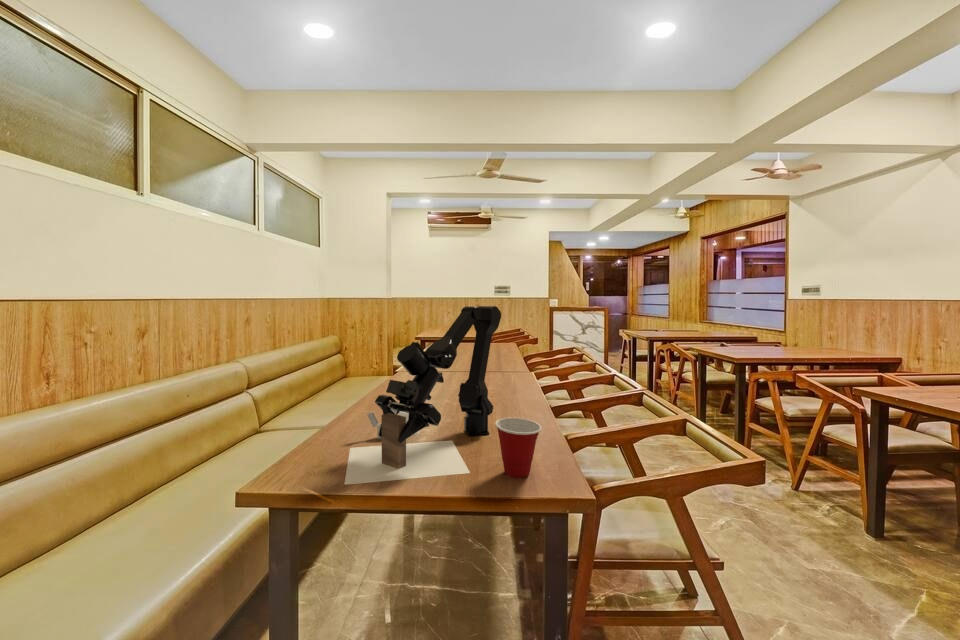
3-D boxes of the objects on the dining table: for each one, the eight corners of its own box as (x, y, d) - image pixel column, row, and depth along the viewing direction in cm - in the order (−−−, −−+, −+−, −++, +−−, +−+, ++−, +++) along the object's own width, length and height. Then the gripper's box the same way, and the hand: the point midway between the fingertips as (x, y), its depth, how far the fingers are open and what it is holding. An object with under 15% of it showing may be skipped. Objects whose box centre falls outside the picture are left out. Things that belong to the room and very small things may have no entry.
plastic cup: (528, 487, 93) (529, 433, 93) (486, 476, 99) (486, 425, 98) (548, 471, 102) (549, 421, 102) (508, 461, 108) (508, 414, 108)
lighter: (392, 438, 126) (392, 411, 126) (391, 440, 124) (391, 413, 124) (369, 437, 126) (369, 411, 126) (367, 439, 125) (366, 412, 124)
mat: (452, 441, 123) (452, 440, 123) (470, 474, 100) (470, 472, 100) (350, 449, 117) (350, 447, 117) (344, 486, 93) (344, 484, 93)
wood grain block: (389, 460, 108) (389, 412, 107) (406, 465, 104) (406, 416, 104) (381, 463, 106) (381, 415, 105) (398, 469, 102) (398, 419, 102)
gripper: (380, 363, 112) (345, 414, 104) (433, 371, 101) (398, 428, 93) (402, 388, 119) (371, 438, 111) (454, 398, 108) (424, 453, 100)
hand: (389, 439), depth 103 cm, fingers open, 6 cm apart
